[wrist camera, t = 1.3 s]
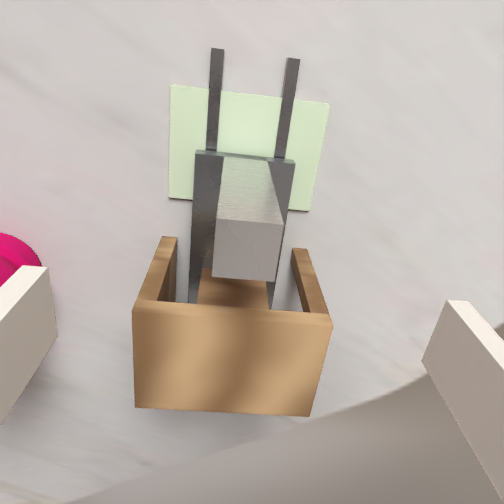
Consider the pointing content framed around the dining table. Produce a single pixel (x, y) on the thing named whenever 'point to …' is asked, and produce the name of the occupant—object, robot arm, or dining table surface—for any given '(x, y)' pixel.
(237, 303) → the block
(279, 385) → the tunnel
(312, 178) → the pad
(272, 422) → the dining table surface
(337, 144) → the dining table surface
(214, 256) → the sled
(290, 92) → the rails
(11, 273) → the pepper mill
